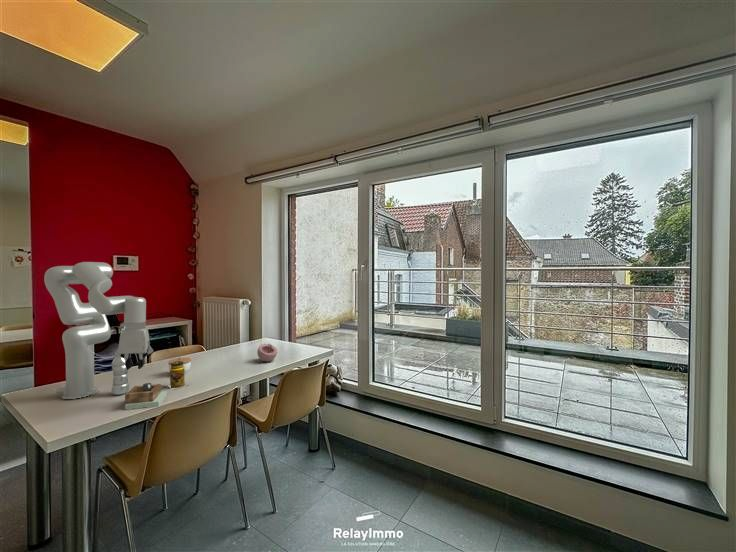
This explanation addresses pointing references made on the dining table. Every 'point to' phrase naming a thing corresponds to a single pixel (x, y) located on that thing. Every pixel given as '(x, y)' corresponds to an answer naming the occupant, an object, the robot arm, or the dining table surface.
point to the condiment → (177, 375)
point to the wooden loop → (142, 394)
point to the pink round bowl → (266, 352)
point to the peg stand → (148, 404)
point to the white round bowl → (185, 362)
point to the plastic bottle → (119, 376)
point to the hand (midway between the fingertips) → (134, 367)
